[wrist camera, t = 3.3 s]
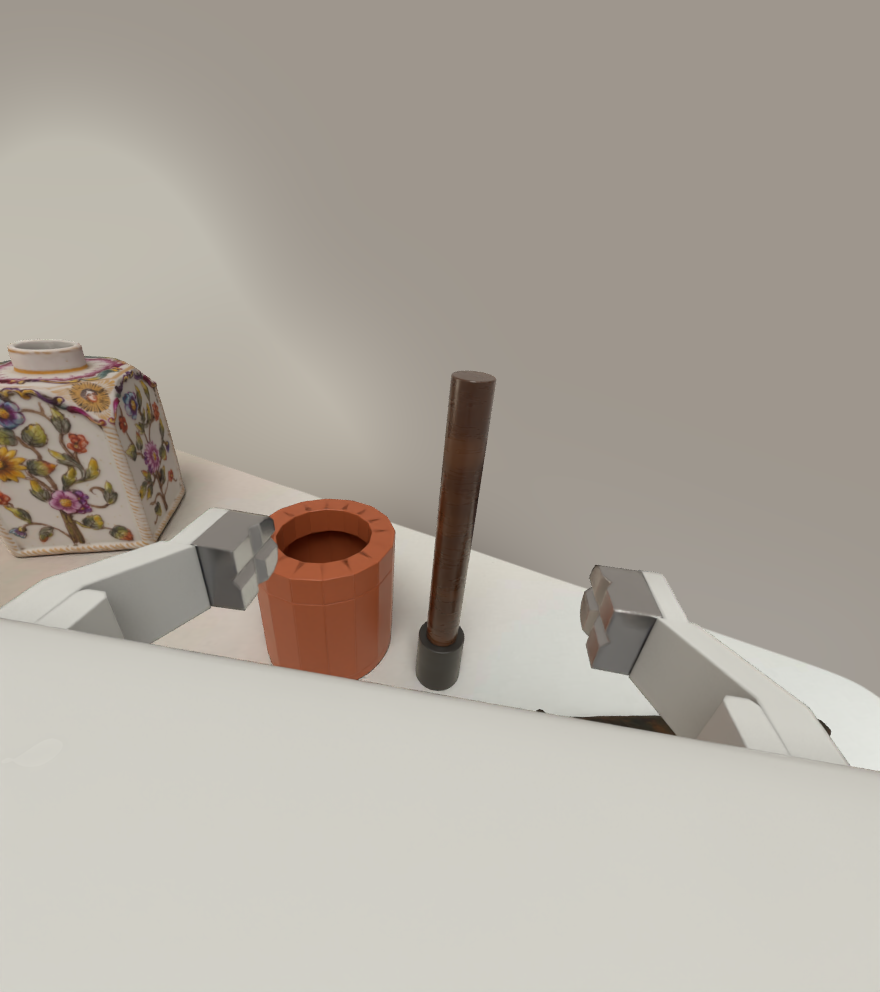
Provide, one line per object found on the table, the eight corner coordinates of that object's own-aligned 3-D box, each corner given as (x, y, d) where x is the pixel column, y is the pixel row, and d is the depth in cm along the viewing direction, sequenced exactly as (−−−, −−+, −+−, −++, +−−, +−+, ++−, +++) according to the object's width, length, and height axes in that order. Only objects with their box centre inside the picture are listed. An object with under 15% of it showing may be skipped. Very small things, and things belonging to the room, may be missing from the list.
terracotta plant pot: (309, 715, 27) (295, 604, 22) (247, 631, 32) (225, 526, 27) (414, 640, 33) (422, 539, 28) (347, 580, 38) (344, 487, 34)
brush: (437, 699, 29) (478, 387, 18) (407, 670, 31) (427, 372, 20) (467, 673, 31) (519, 379, 20) (437, 647, 33) (470, 365, 22)
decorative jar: (74, 496, 47) (5, 328, 38) (188, 492, 50) (148, 335, 41) (6, 562, 37) (-110, 355, 28) (153, 552, 40) (90, 361, 31)
